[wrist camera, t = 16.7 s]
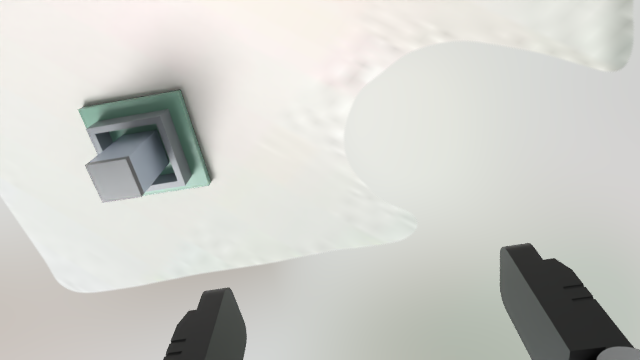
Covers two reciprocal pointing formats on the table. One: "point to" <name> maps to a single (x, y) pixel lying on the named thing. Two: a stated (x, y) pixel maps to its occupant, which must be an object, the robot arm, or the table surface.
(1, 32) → the table surface
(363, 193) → the table surface
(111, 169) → the block
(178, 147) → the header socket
